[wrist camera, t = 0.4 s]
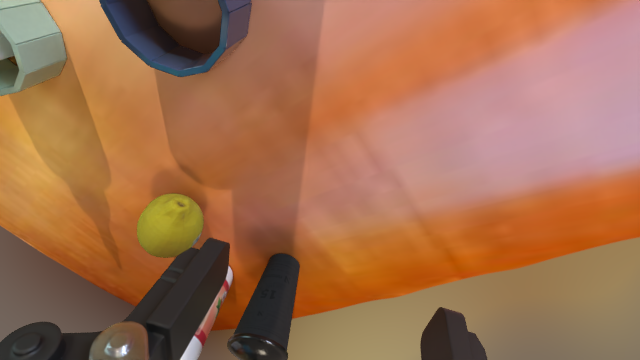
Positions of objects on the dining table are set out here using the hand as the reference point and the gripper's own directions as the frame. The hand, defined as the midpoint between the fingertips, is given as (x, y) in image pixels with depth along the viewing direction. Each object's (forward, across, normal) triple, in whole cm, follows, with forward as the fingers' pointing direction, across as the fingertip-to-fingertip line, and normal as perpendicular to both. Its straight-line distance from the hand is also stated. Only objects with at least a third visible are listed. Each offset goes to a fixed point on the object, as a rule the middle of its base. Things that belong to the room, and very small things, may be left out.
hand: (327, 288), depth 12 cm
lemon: (+25, +20, +21) cm, 38 cm away
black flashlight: (+26, +5, +29) cm, 39 cm away
